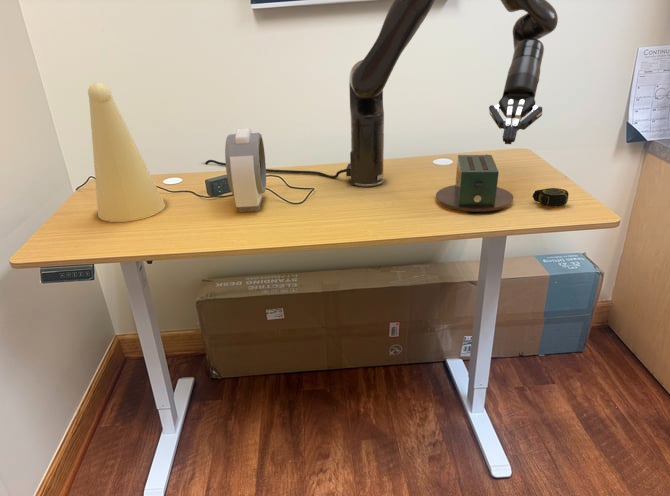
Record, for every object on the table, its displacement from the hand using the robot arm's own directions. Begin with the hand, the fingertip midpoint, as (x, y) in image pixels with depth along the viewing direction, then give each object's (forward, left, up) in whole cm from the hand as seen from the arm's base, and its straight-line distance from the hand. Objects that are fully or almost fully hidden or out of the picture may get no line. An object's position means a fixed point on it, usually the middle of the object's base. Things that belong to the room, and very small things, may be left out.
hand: (508, 142), depth 128 cm
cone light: (-98, -12, -15) cm, 100 cm away
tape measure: (+11, -1, -15) cm, 19 cm away
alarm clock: (-66, -4, -15) cm, 68 cm away
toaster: (-7, 0, -15) cm, 17 cm away
